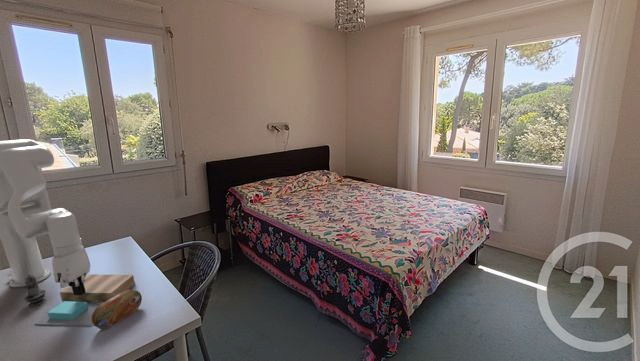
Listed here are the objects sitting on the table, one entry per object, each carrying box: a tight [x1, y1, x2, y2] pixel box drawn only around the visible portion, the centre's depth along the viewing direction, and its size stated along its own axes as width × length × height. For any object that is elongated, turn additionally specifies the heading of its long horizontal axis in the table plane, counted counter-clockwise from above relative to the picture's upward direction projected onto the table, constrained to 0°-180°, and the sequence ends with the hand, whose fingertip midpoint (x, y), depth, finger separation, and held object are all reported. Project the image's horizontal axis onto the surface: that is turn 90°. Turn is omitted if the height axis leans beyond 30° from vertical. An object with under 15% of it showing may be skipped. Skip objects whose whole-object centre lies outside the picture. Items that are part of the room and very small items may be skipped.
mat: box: [34, 302, 103, 327], centre depth 101 cm, size 20×11×1 cm, turn 86°
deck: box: [59, 273, 136, 303], centre depth 113 cm, size 20×12×4 cm, turn 86°
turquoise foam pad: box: [47, 301, 88, 320], centre depth 101 cm, size 9×6×2 cm, turn 85°
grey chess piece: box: [23, 275, 48, 309], centre depth 106 cm, size 6×6×12 cm
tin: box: [92, 289, 143, 330], centre depth 98 cm, size 15×3×8 cm, turn 154°
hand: (79, 293), depth 105 cm, fingers closed
